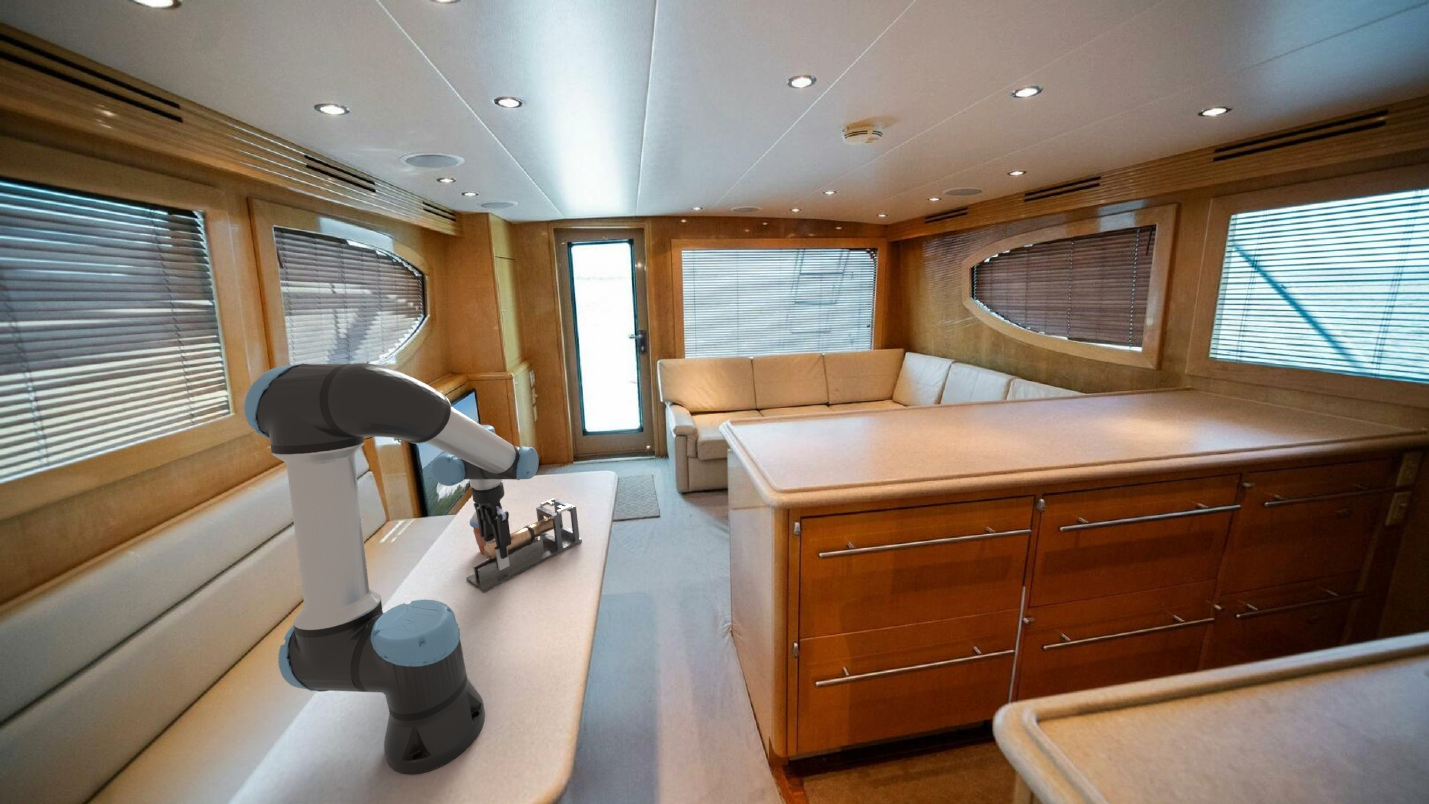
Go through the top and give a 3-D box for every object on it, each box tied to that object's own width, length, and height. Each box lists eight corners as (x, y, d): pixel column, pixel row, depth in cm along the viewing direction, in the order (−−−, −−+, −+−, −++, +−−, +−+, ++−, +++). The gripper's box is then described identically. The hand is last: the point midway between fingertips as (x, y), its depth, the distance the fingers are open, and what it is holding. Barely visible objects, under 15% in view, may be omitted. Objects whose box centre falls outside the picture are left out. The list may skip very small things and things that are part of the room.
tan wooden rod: (493, 562, 127) (490, 548, 126) (485, 557, 129) (482, 543, 128) (558, 530, 142) (556, 516, 141) (549, 526, 145) (548, 513, 144)
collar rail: (483, 592, 123) (476, 547, 120) (466, 580, 129) (459, 537, 126) (582, 541, 146) (577, 502, 143) (564, 533, 152) (559, 495, 149)
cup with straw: (508, 554, 141) (499, 497, 137) (473, 561, 138) (463, 503, 133) (508, 539, 149) (500, 485, 145) (476, 546, 146) (466, 490, 142)
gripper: (518, 486, 123) (529, 568, 129) (484, 472, 133) (496, 549, 139) (490, 497, 117) (503, 582, 123) (456, 482, 127) (470, 561, 133)
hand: (499, 564), depth 131 cm, fingers closed on tan wooden rod, 4 cm apart
